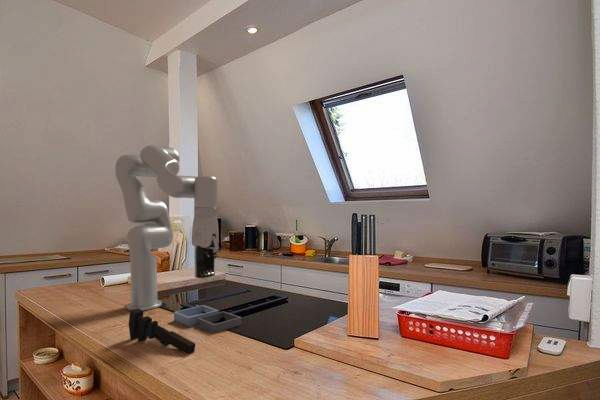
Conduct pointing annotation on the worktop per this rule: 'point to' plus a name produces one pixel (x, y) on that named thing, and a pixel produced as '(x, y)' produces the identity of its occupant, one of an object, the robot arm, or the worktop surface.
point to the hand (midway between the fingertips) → (205, 267)
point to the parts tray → (192, 315)
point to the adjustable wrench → (156, 332)
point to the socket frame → (230, 323)
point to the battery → (202, 263)
